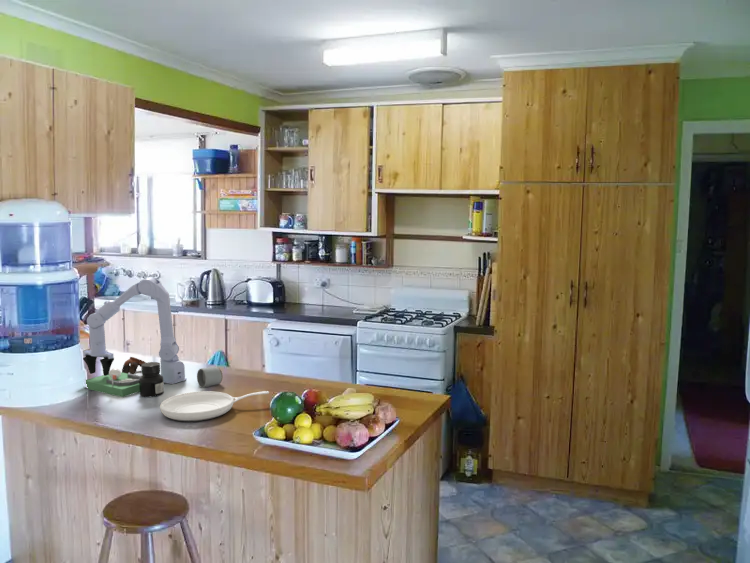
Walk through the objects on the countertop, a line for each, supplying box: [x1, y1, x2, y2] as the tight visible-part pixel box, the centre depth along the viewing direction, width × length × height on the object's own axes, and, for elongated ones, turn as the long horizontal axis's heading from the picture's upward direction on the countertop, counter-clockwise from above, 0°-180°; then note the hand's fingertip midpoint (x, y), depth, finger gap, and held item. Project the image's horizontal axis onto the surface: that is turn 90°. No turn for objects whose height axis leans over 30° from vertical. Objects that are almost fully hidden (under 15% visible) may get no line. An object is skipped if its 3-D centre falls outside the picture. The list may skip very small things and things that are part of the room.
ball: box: [109, 367, 122, 379], centre depth 248 cm, size 4×4×4 cm
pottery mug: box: [121, 356, 147, 375], centre depth 268 cm, size 12×10×8 cm
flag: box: [111, 374, 117, 387], centre depth 237 cm, size 3×1×8 cm, turn 60°
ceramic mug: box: [196, 366, 223, 388], centre depth 250 cm, size 11×8×8 cm
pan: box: [159, 390, 270, 422], centre depth 219 cm, size 25×38×5 cm, turn 111°
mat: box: [85, 371, 142, 398], centre depth 247 cm, size 24×16×4 cm, turn 60°
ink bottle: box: [139, 361, 165, 398], centre depth 237 cm, size 10×9×12 cm
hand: (99, 374), depth 253 cm, fingers open, 7 cm apart
